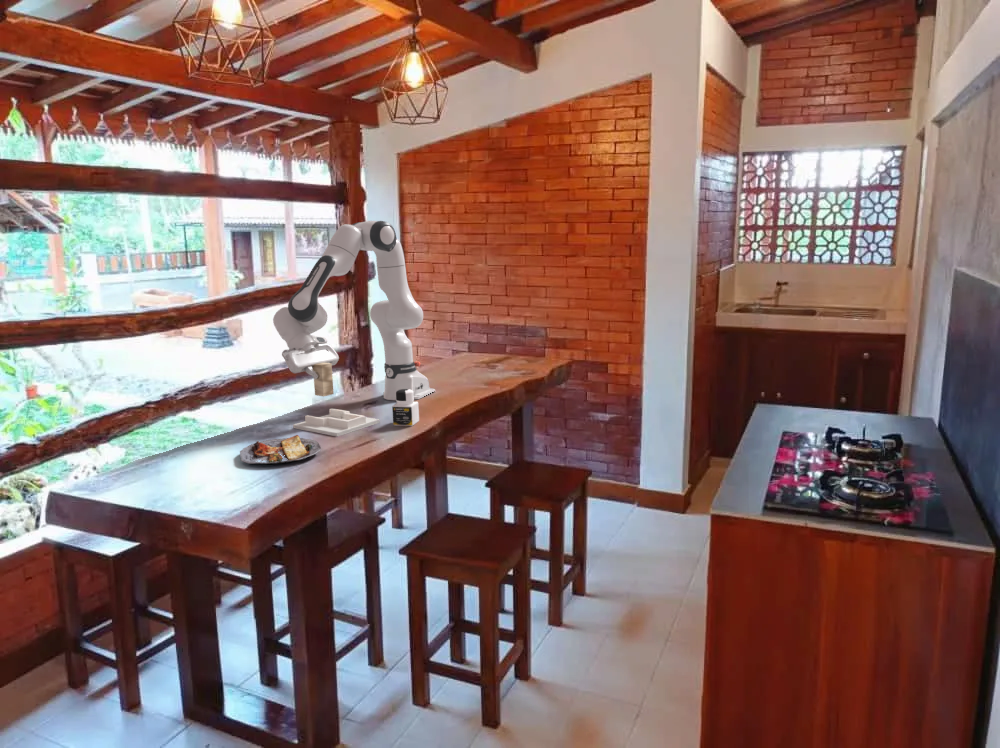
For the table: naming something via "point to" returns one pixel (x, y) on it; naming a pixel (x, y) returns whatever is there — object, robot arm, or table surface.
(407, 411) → the medicine bottle
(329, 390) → the beech peg
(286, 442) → the food plate
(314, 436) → the table surface
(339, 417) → the keyhole dock
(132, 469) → the table surface
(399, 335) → the robot arm
